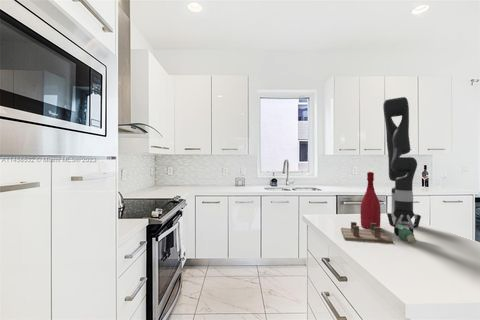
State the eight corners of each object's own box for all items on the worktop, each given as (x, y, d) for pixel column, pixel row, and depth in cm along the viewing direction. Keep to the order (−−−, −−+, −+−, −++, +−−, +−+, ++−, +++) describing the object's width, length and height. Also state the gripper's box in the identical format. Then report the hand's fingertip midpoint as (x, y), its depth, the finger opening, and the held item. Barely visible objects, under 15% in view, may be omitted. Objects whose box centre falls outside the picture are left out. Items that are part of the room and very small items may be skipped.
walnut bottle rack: (341, 230, 142) (341, 219, 142) (383, 232, 137) (383, 221, 137) (344, 239, 125) (344, 227, 125) (393, 243, 120) (393, 230, 120)
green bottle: (394, 234, 135) (394, 223, 135) (405, 235, 133) (405, 224, 133) (404, 244, 118) (405, 232, 118) (418, 245, 117) (418, 234, 117)
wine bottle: (384, 229, 144) (384, 172, 144) (365, 229, 144) (365, 172, 144) (375, 225, 153) (375, 171, 153) (357, 224, 154) (357, 171, 154)
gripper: (418, 199, 130) (418, 234, 130) (384, 198, 134) (384, 232, 134) (424, 201, 123) (424, 239, 123) (388, 200, 127) (388, 236, 127)
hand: (403, 235), depth 128 cm, fingers closed on green bottle, 5 cm apart
